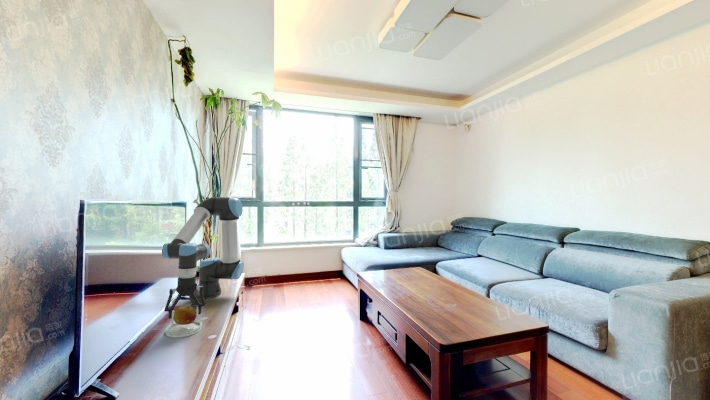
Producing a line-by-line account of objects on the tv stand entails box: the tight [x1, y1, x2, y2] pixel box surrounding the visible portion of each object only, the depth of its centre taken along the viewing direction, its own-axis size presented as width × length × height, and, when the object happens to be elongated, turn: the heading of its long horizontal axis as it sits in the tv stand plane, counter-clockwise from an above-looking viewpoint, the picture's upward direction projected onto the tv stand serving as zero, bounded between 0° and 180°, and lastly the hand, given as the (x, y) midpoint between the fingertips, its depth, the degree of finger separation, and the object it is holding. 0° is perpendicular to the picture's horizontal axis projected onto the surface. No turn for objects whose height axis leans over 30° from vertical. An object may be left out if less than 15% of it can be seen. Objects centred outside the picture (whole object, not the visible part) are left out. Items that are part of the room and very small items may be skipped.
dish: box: [165, 319, 203, 339], centre depth 134 cm, size 15×15×2 cm
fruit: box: [174, 305, 196, 325], centre depth 134 cm, size 10×9×8 cm
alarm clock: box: [188, 278, 203, 307], centre depth 163 cm, size 11×5×16 cm, turn 47°
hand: (184, 323), depth 134 cm, fingers closed on fruit, 9 cm apart
